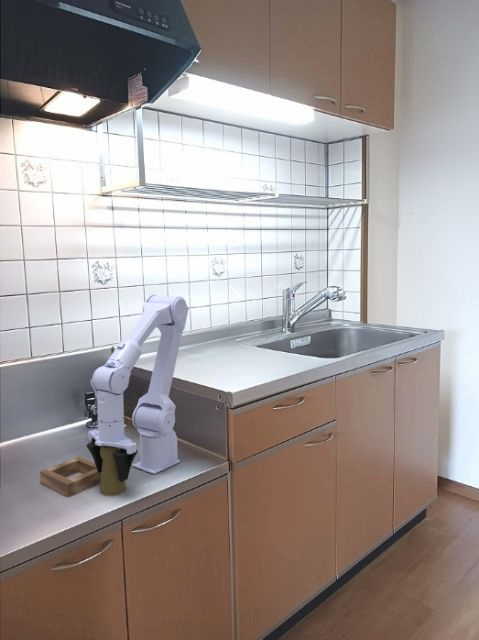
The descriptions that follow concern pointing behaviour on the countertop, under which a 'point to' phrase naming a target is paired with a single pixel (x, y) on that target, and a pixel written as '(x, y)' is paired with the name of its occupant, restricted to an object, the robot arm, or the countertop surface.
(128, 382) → the robot arm
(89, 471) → the socket block
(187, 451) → the countertop surface
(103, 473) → the olive rounded peg
